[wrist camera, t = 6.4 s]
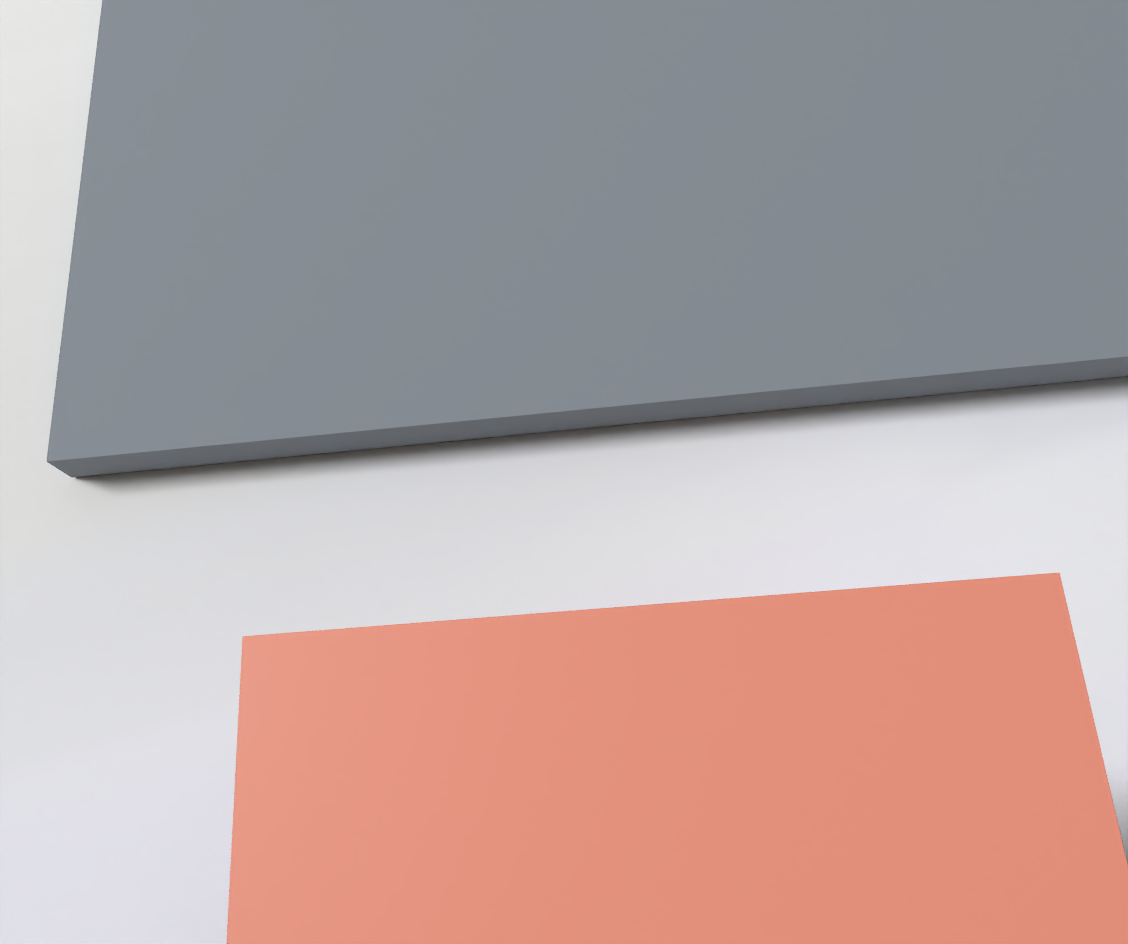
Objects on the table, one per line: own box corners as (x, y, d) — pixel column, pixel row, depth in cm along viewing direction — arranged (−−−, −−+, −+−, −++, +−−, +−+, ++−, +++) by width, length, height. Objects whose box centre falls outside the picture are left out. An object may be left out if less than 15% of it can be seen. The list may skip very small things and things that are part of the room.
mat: (72, 477, 19) (46, 461, 18) (136, -103, 24) (118, -135, 23) (1234, 366, 17) (1260, 343, 16) (1044, -227, 22) (1058, -264, 21)
